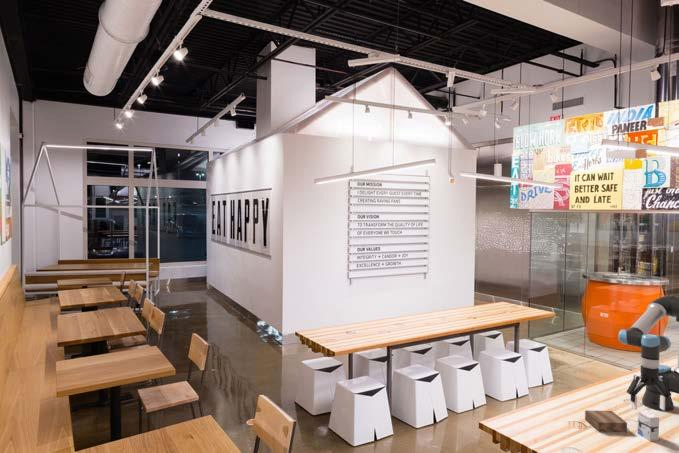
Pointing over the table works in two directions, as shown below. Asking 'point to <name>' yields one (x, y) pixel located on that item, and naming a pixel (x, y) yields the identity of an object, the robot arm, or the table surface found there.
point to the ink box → (648, 425)
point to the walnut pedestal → (605, 421)
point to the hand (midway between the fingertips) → (648, 408)
